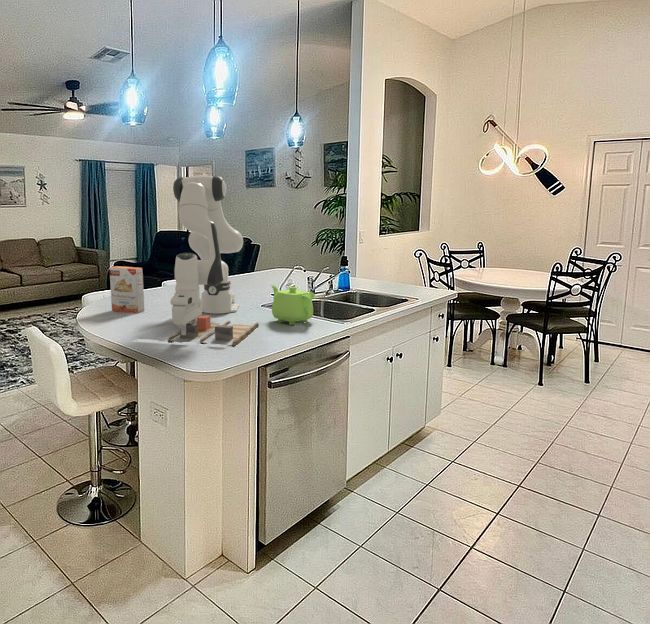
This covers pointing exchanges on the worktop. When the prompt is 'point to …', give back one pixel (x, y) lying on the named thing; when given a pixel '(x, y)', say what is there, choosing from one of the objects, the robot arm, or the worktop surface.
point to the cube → (203, 322)
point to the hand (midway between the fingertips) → (188, 332)
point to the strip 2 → (229, 332)
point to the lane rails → (224, 325)
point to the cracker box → (127, 289)
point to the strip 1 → (195, 331)
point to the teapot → (292, 305)
